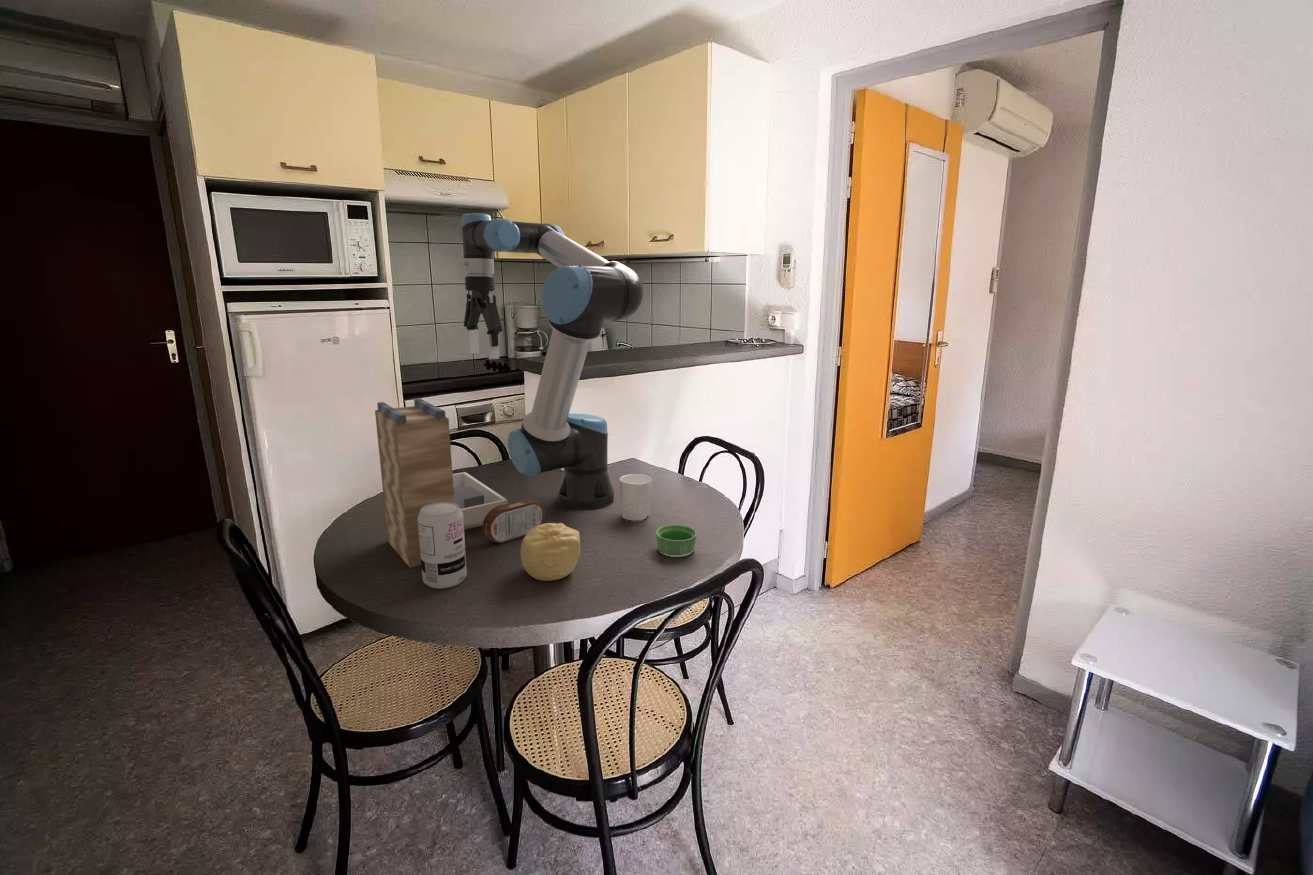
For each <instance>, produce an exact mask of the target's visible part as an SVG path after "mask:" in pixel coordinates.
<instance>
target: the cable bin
mask: <svg viewBox="0 0 1313 875" xmlns="http://www.w3.org/2000/svg"><path fill="white" fill-rule="evenodd" d="M452 474H453V487H454V488H455V489H461V488H466V487H472V488H474V489H475V490H477V491H478V492H480V493H481V494H483V495H484V504H482V505H477V506H473V507H468V508H463V509H461V511H462V512H463V523H464V531H466V530H468V529H474V528H477V527H483V521H484V519H485V517H486V515H487V514H488V512H489V511H490V510H492V509H493V508H494V507H496V506H499V505H503V504H507V503H509V500H508V499H507V498H506V497H504V496H502V495H501V494H499V493H498V492H496V491H494V490H493V489H492V488H490V487H488V485H486V484H484V483H483V482H481V481H480V480H478V479H477V478H475V477H474V476H472V475H471V474H469V473H467V472H466V471H463V472H458V473H452Z"/></svg>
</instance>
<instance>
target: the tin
mask: <svg viewBox="0 0 1313 875" xmlns="http://www.w3.org/2000/svg"><path fill="white" fill-rule="evenodd" d="M544 520H545V509H544V506H543V505H542V504H541V503H540V502H539V501H537V500H536V499H534V498H529V497H528V498H523V499H520V500H515V501H513V502H508V503H507V504H503V505H499V506H496V507H494V508H493V509H492V510H490V511H489V512H488V514H487V515H486V517H485V519H484V521H483V525H482V531H483V534H484V536H485V537H486V538H487V539H489V540H491V541H492V542H494V543H497V544H504V543H507V542H508V543H509V542H511V541H514V540H516V539H517V540H518V539H520V538H523V537H525V536H526V534H527V533H528V532H529V531H530V530H531V529H533V528H534V527H536V526H538V525H541V524H544Z"/></svg>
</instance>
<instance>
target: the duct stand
mask: <svg viewBox="0 0 1313 875" xmlns="http://www.w3.org/2000/svg"><path fill="white" fill-rule="evenodd" d="M413 404H414V405H411V406H405V407H392V406H391V405H389V404H388V403H385V402H384V401H383V402H382V401H380V402H377V409H375V410H374V415H375V423H376V424H375V425H376V426H375V427H376V435H377V444H378V454H379V456H378V457H379V464H380V466H379V467H380V472H381V473H380V474H381V482H382V495H383V503H384V504H383V505H384V514H385V523H386V534H387V541H388V543H389V544H390V546H391V547H392V548H393V549H394V551H395V552H396V553H397V554H398V555H399V556H400V557H401V559H402V560H403V561H404V563H406V565H407V566H408V568H410V569H411V568H415V567H419V566H421V555H420V544H419V532H418V521H417V518H418V515H419V513H420V510H421V508H422V507H424V506H426V505H428V504H432V503H438V502H452V503H454V488H453V474H454V473H453V463H452V448H451V447H452V446H451V435H450V434H451V433H450V419H449V417H447V416H446V410H444V409H442V408H441V407H437V406H436V405H434V404H432V403H430V402H429V401H426V400H423V399H422V398H413Z"/></svg>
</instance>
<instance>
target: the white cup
mask: <svg viewBox="0 0 1313 875" xmlns="http://www.w3.org/2000/svg"><path fill="white" fill-rule="evenodd" d="M651 492H652V478H651V476H648V475H646V474H641V473H640V474H639V473H631V474H624V475H622V476H621V477H619V495H620V496H619V497H620V508H621V518H622V517H623V518H625V519H628V520H641V519H644V518H646V517H647V516H648V515H649V516H650V506H651V505H650V504H651ZM623 518H622V519H623ZM625 519H624V520H625ZM628 520H627V521H628Z"/></svg>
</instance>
